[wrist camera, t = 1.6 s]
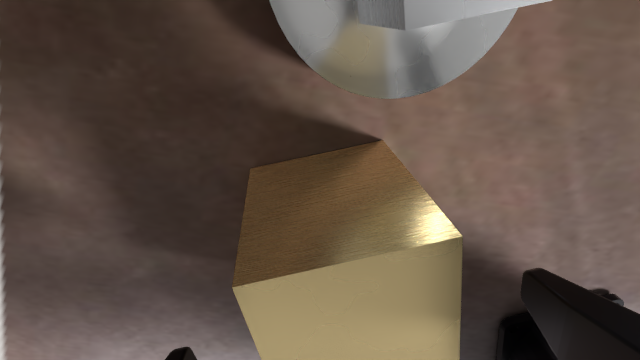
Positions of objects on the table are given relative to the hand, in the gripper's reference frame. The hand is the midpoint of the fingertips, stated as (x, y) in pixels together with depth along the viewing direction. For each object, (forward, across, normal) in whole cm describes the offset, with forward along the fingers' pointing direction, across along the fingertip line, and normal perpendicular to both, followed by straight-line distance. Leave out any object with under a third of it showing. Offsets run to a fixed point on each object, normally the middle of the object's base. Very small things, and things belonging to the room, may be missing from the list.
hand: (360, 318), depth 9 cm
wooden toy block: (+5, 0, 0) cm, 5 cm away
